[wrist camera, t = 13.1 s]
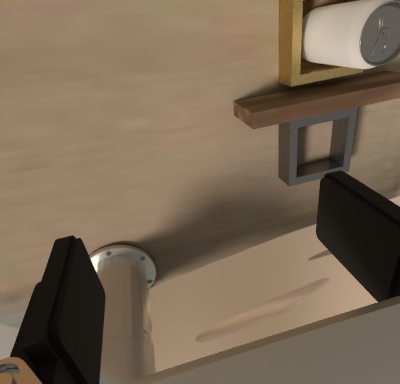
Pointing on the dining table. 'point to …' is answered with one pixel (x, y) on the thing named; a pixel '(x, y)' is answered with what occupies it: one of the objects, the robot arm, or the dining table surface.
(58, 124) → the dining table surface
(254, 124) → the brown wooden plank
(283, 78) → the brass keeper
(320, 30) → the can
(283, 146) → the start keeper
